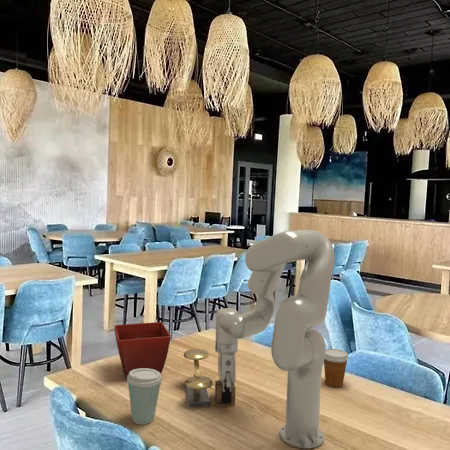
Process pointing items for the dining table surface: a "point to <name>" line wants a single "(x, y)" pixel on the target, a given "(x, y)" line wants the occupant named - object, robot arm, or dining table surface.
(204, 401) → the balance
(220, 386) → the walnut block
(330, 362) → the disposable coffee cup
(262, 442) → the dining table surface
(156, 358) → the plant pot
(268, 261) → the robot arm
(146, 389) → the disposable coffee cup
